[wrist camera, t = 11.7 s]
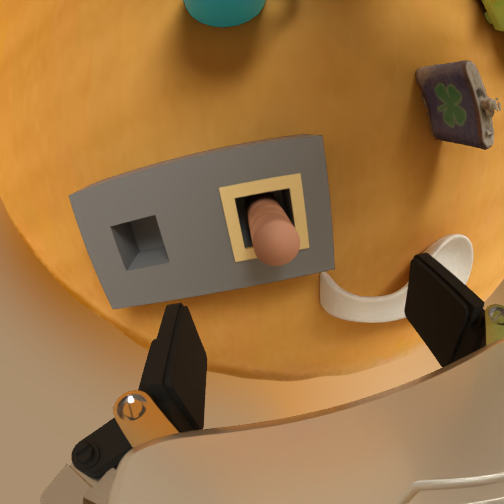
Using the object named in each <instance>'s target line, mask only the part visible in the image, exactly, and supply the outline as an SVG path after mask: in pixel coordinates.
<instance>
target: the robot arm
mask: <svg viewBox="0 0 504 504" xmlns="http://www.w3.org/2000/svg"><path fill="white" fill-rule="evenodd" d="M483 306H484V302H483V301H482V300H481V299H480V298H479V297H478V296H477V295H476V294H475V293H474V292H473V291H471V290H470V289H469V288H468V287H467V286H466V285H465V284H464V283H463V282H462V281H460V280H459V279H458V278H457V277H456V276H455V275H454V274H452V273H451V272H450V271H449V270H448V269H447V268H445V267H444V266H443V265H442V264H441V263H439V262H438V261H437V260H436V259H435V258H433V257H432V256H431V255H430V254H428V253H422V254H418V255H415V256H414V258H413V259H412V261H411V265H410V274H409V282H408V289H407V296H406V302H405V308H404V313H405V316H406V318H407V319H408V320H409V322H410V323H411V324H412V326H413V327H414V328H415V330H416V331H417V332H418V334H419V335H420V337H421V338H422V339H423V341H424V342H425V343H426V345H427V346H428V348H429V349H430V350H431V352H432V353H433V355H434V356H435V357H436V359H437V361H438V362H439V363H440V365H441V366H442V367H443V368H441V369H439V370H436V371H434V372H432V373H430V374H427V375H425V376H423V377H420V378H418V379H416V380H413V381H411V382H408V383H406V384H403V385H400V386H398V387H395V388H392V389H390V390H387V391H384V392H381V393H378V394H375V395H372V396H369V397H366V398H363V399H360V400H357V401H354V402H350V403H346V404H343V405H339V406H335V407H332V408H328V409H324V410H320V411H316V412H312V413H307V414H303V415H298V416H293V417H288V418H284V419H277V420H271V421H265V422H259V423H253V424H246V425H239V426H230V427H222V428H212V429H204V430H202V429H203V427H204V407H205V388H206V372H207V356H206V352H205V350H204V347H203V345H202V343H201V340H200V338H199V335H198V333H197V330H196V327H195V325H194V322H193V320H192V317H191V314H190V312H189V309H188V307H187V306H183V305H182V304H181V303H177V304H171V305H167V306H166V309H165V312H164V316H163V319H162V322H161V326H160V329H159V333H158V336H157V339H154V340H153V341H152V343H151V346H150V349H149V353H148V356H147V360H146V363H145V367H144V371H143V374H142V378H141V382H140V386H139V389H138V391H136V390H135V391H129V392H127V393H125V394H123V395H122V396H120V397H119V398H118V399H117V401H116V402H115V404H114V407H113V414H114V417H115V418H113V419H112V420H110V421H109V422H108V423H106V424H105V425H103V426H102V427H100V428H99V429H98V430H96V431H95V432H93V433H92V434H91V435H89V436H87V437H86V438H84V439H83V440H81V441H80V442H79V443H78V444H77V445H76V446H75V448H74V449H73V451H72V462H73V463H72V464H71V465H70V466H69V465H68V464H66V465H65V467H64V468H63V469H62V470H61V471H60V473H59V474H58V475H57V476H56V477H55V478H54V480H53V481H52V482H51V483H50V484H49V486H48V487H47V488H46V489H45V490H44V492H43V493H42V495H41V500H40V501H41V504H504V306H502V305H498V304H493V305H490V306H488V307H487V308H486V310H484V309H483Z"/></svg>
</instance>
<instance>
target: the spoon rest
mask: <svg viewBox="0 0 504 504" xmlns="http://www.w3.org/2000/svg"><path fill="white" fill-rule="evenodd" d="M423 253H428V254H430V255H431V256H432V257H433V258H435V259H436V260H437V261H438V262H439V263H441V264H442V265H443V266H444V267H445V268H447V269H448V270H449V271H450V272H451V273H452V274H454V275H455V276H456V277H457V278H458V279H459V280H460V281H462V282H463V283H464V284H465V285H466V283H467V281H468V278H469V276H470V272H471V269H472V264H473V247H472V243H471V241H470V240H469V239H468V238H467V237H466V236H464V235H462V234H451V235H447V236H444V237H442V238H440V239H438V240H437V241H435V242H434V243H433V244H431V245H430V246H429V247H428V248H427V249H426V250H425V251H424V252H423ZM408 282H409V281H408ZM408 282H407V283H406V284H405V285H404V286H403V287H402V288H401V289H400V290H398V291H396V292H394V293H392V294H388V295H384V296H375V297H367V296H359V295H355V294H352V293H349V292H347V291H345V290H344V289H342V288H341V287H340V286H339V285H338V284H337V283H336V282H335V281H334V280H333V279H332V278H331V277H330V275H329V274H328V273H326V272H321V274H320V304H321V306H322V307H323V309H324V310H325V311H326V312H327V313H329V314H330V315H332V316H334V317H337V318H340V319H344V320H348V321H354V322H366V323H380V322H389V321H395V320H399V319H403V318H406V316H405V313H404V308H405V302H406V296H407V289H408Z"/></svg>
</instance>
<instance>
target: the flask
mask: <svg viewBox="0 0 504 504" xmlns="http://www.w3.org/2000/svg"><path fill="white" fill-rule="evenodd" d="M416 80H417V84H418V86H420V90H421V92H422V93H421V94H422V98H423V102H424V105H425V106H426V108H427V110H428V113H427V115H428V116H429V119H430V123H429V124H430V126H431V133H432V135H433V136H434V137H435V138H436V140H437V139H439V140H442V141H447V142H453V143H458V144H464V145H468V146H472V147H477V148H481V149H484V150H486V149H488V148H490V147H491V146H492V145H493V143H494V129H493V122H492V117H493V115H494V109H495V110H497V112H498V108H497V104H496V101H495V100H494V99H491V98H489V97H487V94H486V90H485V87H484V85H483V82H482V79H481V77H480V74H479V72H478V69H477V67H476V66H475V64H473V63H472V62H471V61H459V62H454V63H447V64H440V65H434V66H428V67H421V68H419V69H418V70H416ZM496 100H498V98H496ZM498 107H499V111H501V105H500V103H499V102H498Z"/></svg>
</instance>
